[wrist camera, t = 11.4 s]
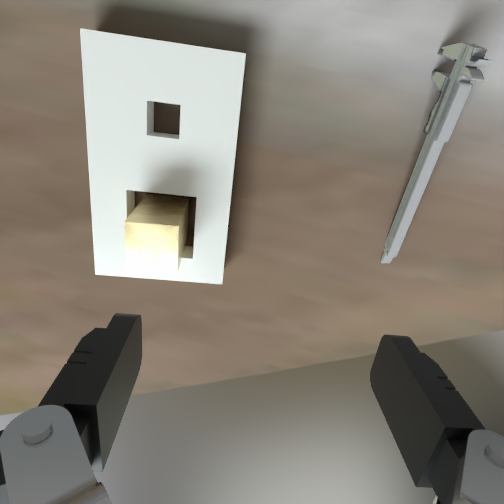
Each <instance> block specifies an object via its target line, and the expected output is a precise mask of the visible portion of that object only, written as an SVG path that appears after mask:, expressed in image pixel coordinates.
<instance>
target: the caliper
mask: <svg viewBox="0 0 504 504" xmlns="http://www.w3.org/2000/svg"><path fill="white" fill-rule="evenodd" d="M486 51H487V49H485V48H482V47H479V46H476V45H474V44H467V43H457V44H453V45H448V46H444V47H441V49H440V50H439V52H438V54H439V55H442V56H444V57H447V58H449V59H451V60H454V61H456V63H455V65H454V67H453V70H452V72H451V74H449V73H444V72H438V71H433V72H432V75H431V78H432V80H433V82H434V83H435V85H436V87H437V88H438V90H439V91H440V93H441V94H440V96H439V99H438V102H436V104H435V106H434V107H433V109H432V111H431V113H430V115H429V120H428V122H427V124H426V126H425V128H424V133H426V134H427V136H426V138H425V141H424V144H423V146H422V149H421V151H420V154H419V157H418V159H417V162H416V164H415V167H414V169H413V172H412V175H411V177H410V180H409V182H408V185H407V188H406V190H405V193H404V195H403V198H402V200H401V203H400V205H399V208H398V210H397V213H396V216H395V218H394V221H393V223H392V226H391V228H390V231H389V233H388V236H387V239H386V242H385V246H384V250H383V251H384V253H383V256H382V258H381V261H380V262H381V263H390V262H391V261H392V259H393V257H396V256H397V254H398V251H399V249H400V247H401V244H402V242H403V240H404V237H405V235H406V233H407V230H408V228H409V226H410V223H411V221H412V219H413V216H414V214H415V211H416V209H417V207H418V204H419V202H420V200H421V197H422V195H423V192H424V190H425V188H426V185H427V183H428V181H429V178H430V176H431V173H432V171H433V169H434V166H435V164H436V162H437V159H438V157H439V154H440V152H441V150H442V147H443V145H444V143H445V142H448V141H449V138H450V136H451V134H452V131H453V129H454V127H455V125H456V122H457V120H458V118H459V115H460V113H461V111H462V109H463V106H464V104H465V102H466V99H467V97H468V95H469V93H470V90H471V88H472V83H470V81H471V79H472V80H480V81H483V80H484V77H483V74H482V72H481V71H480V70H479V69H477V67H484V66H487V65H489V64H490V63H491V62H492V61H491V60H488V59H484V56H485V53H486Z"/></svg>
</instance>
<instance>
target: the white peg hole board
mask: <svg viewBox="0 0 504 504" xmlns="http://www.w3.org/2000/svg"><path fill="white" fill-rule="evenodd" d="M80 35H81V51H82V67H83V83H84V100H85V116H86V132H87V148H88V164H89V180H90V196H91V212H92V229H93V245H94V261H95V275H108V276H121V277H134V278H148V279H161V280H174V281H187V282H200V283H213V284H222V280H223V270H224V261H225V251H226V241H227V232H228V222H229V212H230V203H231V193H232V183H233V173H234V164H235V154H236V144H237V135H238V125H239V115H240V106H241V96H242V86H243V77H244V67H245V57H246V53H239V52H233V51H226V50H220V49H213V48H206V47H200V46H193V45H187V44H180V43H173V42H167V41H160V40H154V39H147V38H140V37H134V36H127V35H120V34H114V33H107V32H101V31H94V30H87V29H81V28H80ZM154 102H162V103H169V104H177V105H181V107H180V132H179V135H175V134H167V133H159V132H154ZM135 191H142V192H152V193H161V194H171V195H181V196H190V197H197V199H196V215H195V231H194V246H186V245H185V248H184V251H183V255H182V258H181V262H180V266H179V269H178V273H171V272H156V271H140V270H126V253H125V229H124V221H125V220H126V219H127V218H128V217H129V215H130V214H131V213H132V212H133V210H134V209H135Z"/></svg>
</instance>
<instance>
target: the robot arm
mask: <svg viewBox="0 0 504 504" xmlns="http://www.w3.org/2000/svg"><path fill="white" fill-rule="evenodd" d="M141 359H142V322H141V316H140V315H135V314H123V313H116V314H115V315H114V316H113V318H112V320H111V321H110V323H109V325H108V327H107V328H106V329H105V328H95V329H94V330H92V331H91V332H90V333H88V334H87V335H86V336H84V337H83V338H82V339H81V340H80V342H79V344H78V345H77V347H76V348H75V350H74V353H72V354H71V356H70V357H69V359H68V361H67V364H65V365H64V367H63V368H62V370H61V371H60V373H59V374H58V376H57V378H56V379H55V381H54V382H53V384H52V385H51V387H50V388H49V390H48V391H47V393H46V395H45V396H44V398H43V399H42V401H41V402H40V404H39V405H38V407H35V408H32V409H30V410H27V411H25V412H24V413H22V414H20V415H19V416H17V417H16V418H15V419H14V420H12V421H11V422H10V423H9V424H8V425H7V427H6V428H5V429H4V430H2V431H0V504H111V501H110V499H109V497H108V494H107V491H106V490H105V487H104V485H103V484H102V483H101V482H99V483H98V482H97V480H96V478H95V475H94V473H93V471H98V472H103V469H104V467H105V464H106V461H107V458H108V455H109V453H110V450H111V447H112V444H113V442H114V439H115V437H116V434H117V431H118V428H119V425H120V423H121V420H122V417H123V415H124V412H125V409H126V406H127V404H128V401H129V398H130V395H131V393H132V390H133V387H134V384H135V382H136V379H137V376H138V373H139V370H140V366H141ZM370 381H371V387H372V389H373V392H374V394H375V396H376V399H377V401H378V403H379V405H380V407H381V410H382V412H383V414H384V416H385V419H386V421H387V423H388V425H389V428H390V430H391V432H392V434H393V436H394V439H395V441H396V443H397V446H398V448H399V450H400V452H401V454H402V457H403V459H404V461H405V463H406V466H407V468H408V470H409V472H410V474H411V477H412V479H413V481H414V484H415V486H416V487H430V488H433V489H434V491H435V493H436V497H435V499H434V501H433V504H504V437H503V436H501V435H499V434H497V433H494V432H491V431H488V430H486V429H485V428H484V427H483V425H482V424H481V422H480V421H479V420H478V419H477V417H476V416H475V414H474V413H473V411H472V410H471V409H470V407H469V406H468V405H467V403H466V402H465V400H464V399H463V398H462V397H461V395H460V394H459V392H458V391H456V390H455V387H454V386H453V384H452V383H451V381H450V380H448V379H447V376H446V374H445V373H444V372H443V370H442V369H441V368H440V366H439V365H438V364H437V363H436V362H434V361H433V360H432V359H431V358H430V357H428V356H427V355H426V354H425V353H420V351H419V350H418V348H417V347H416V345H415V344H414V343H413V341H412V340H411V338H409V337H408V336H397V335H384V336H383V337H382V339H381V341H380V344H379V347H378V350H377V353H376V356H375V359H374V363H373V365H372V368H371V373H370Z"/></svg>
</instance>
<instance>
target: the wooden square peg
mask: <svg viewBox="0 0 504 504" xmlns="http://www.w3.org/2000/svg"><path fill="white" fill-rule="evenodd" d="M188 213H189V198H184V197H173V196H161V195H150V194H146V196H145V197H144V198H143V199H142V201H141V202H140V203H139V204H138V205H137V207H136V208H135V209H134V210H133V212H132V213H131V214H130V215H129V217H128V218H127V219H126V220H125V221H124V229H125V253H126V270H140V271H156V272H171V273H178V269H179V266H180V262H181V258H182V255H183V251H184V248H185V244H186V240H187V237H188Z"/></svg>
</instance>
